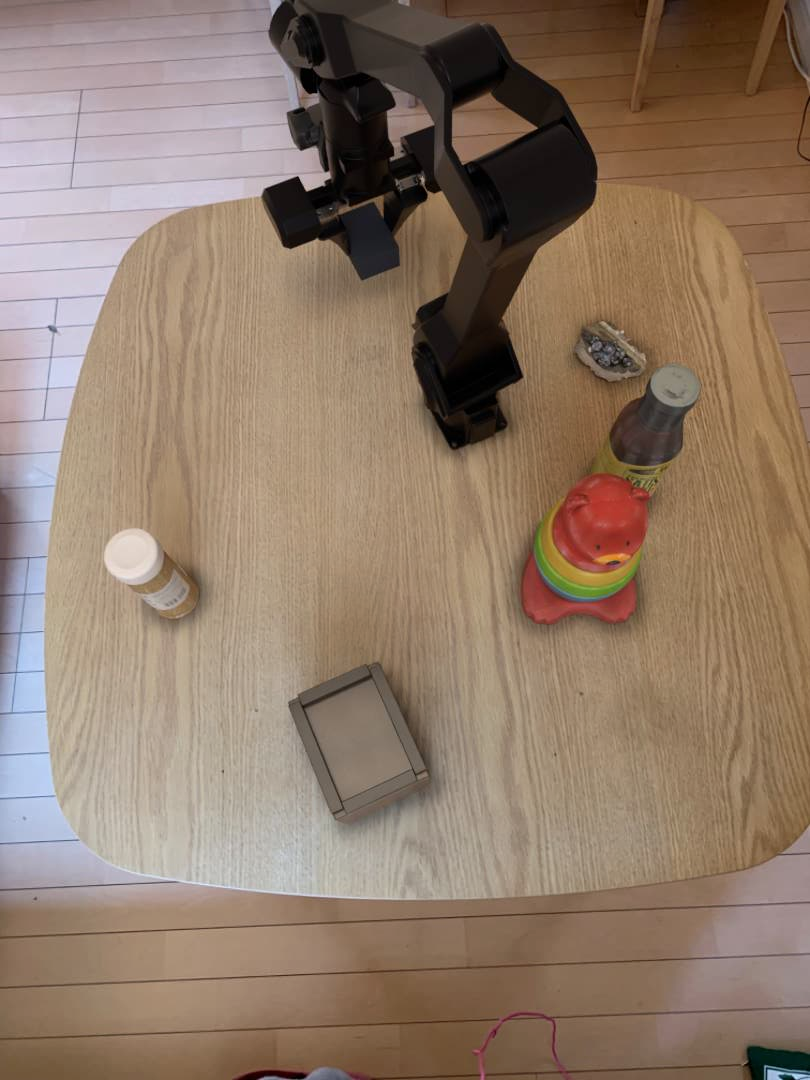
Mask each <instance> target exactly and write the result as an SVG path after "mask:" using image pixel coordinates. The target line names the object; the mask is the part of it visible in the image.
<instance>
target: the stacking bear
mask: <svg viewBox="0 0 810 1080" xmlns="http://www.w3.org/2000/svg"><path fill="white" fill-rule="evenodd" d="M589 475H590V474H589ZM589 475H587V476H585V477H584V478H581V479H580V480H578V481H577V482H576V483H575V484H574V485H573V486H572V487H571V488H570V490H569V491H568V493H567V494H566V495H565V496H564V497H562V499H560V500H558V502H556V503H555V504H554V505H553V506H552V507H551V508H549V510H548V511H547V512H546V513H545V515H544V516H543V517H542V519H541V521H540V522H539V524H538V525H537V528H536V532H535V536H534V540H533V548H532V550H531V551H530V553H529V555H528V557H527V560H526V562H525V564H524V568H523V571H522V577H521V581H520V582H521V583H520V600H521V601H520V602H521V608H522V612H523V613H524V615H525V616H527V617H529V618H530V619H531V621H532V622H533V623H535V624H537V625H538V624H544V625H546V626H547V625H553V624H556V623H558V622H559V621H560V620H562V619H564V618H566V617H569V616H571V615H577V614H579V615H589V616H592V617H595V618H596V619H598V620H601V621H602V622H604V623H608V624H609V625H611V624H612V625H613V624H616V623H621V624H622V623H625V622H627V621H628V620H629V617H631V616H632V615H633V614H635V612H636V609H637V589H636V583H635V578H634V576H635V574H636V573H637V570H638V568H639V566H640V563H641V559H642V554H643V543H644V541H645V539H646V537H647V532H648V527H649V511H648V507H647V502H649V501H650V500H651V497H650V494H649V492H648V491H647V490H646V489H644V488H640V487H635V486H634V485H633V484H632V483H631V482H629V481H628V480H626V479H624V478H622V477H620V476H617V475H614V474H609V473H598V474H593V475H590V476H589Z"/></svg>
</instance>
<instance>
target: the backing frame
mask: <svg viewBox="0 0 810 1080" xmlns="http://www.w3.org/2000/svg"><path fill="white" fill-rule="evenodd" d="M287 704H288V705H287V707H288V709H289V712H290V714H291V717H292V719H293V723H294V724H295V727H296V729H297V732H298V734H299V737H300V739H301V742H302V745H303V747H304V748H305V752H306V755H307V757H308V759H309V762H310V764H311V767H312V770H313V771H314V775H315V777H316V779H317V782H318V785H319V787H320V789H321V792H322V794H323V797H324V800H325V802H326V804H327V807H328V809H329V811H330V814H331V815H332V817H333V819H334V820H335V821H336V822H339V823H342V824H346V825H350V824H351V823H354V822H356V821H358V820H360V819H362V818H365V817H366V816H368V815H369V816H370V815H371V814H373V813H374V812H376V811H379V810H381V809H383V808H385V807H388V806H389V805H392V804H394V803H396V802H398V801H400V800H403V799H405V798H407V797H408V796H410V795H413V794H416V793H417V792H419V791H421V790H424V789H426V788H428V787H430V786H431V778H430V773H429V770H428V768H427V765H426V764H425V761H424V758H423V757H422V754H421V752H420V749H419V747H418V745H417V743H416V741H415V738H414V736H413V734H412V731H411V729H410V727H409V725H408V723H407V720H406V719H405V716H404V714H403V711H402V710H401V707H400V705H399V703H398V700H397V698H396V696H395V694H394V691H393V689H392V687H391V685H390V683H389V680H388V679H387V675H386V674H385V671H384V669H383V667H382V665H381V664H380V661H375V662H373V663H371V664H367V663H364V664H361V665H360V666H357V667H355V668H353V669H351V670H349V671H347V672H344V673H341V674H340V675H338V676H335V677H334V678H331V679H328V680H327V681H324V682H322V683H319V684H318V685H316V686H312V687H311V688H308V689H307V690H304V691H302V692H300V693H298V694H297V696H296V698H293V699H291V700H289V701H287Z"/></svg>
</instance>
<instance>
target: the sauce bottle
mask: <svg viewBox="0 0 810 1080" xmlns="http://www.w3.org/2000/svg"><path fill="white" fill-rule="evenodd" d="M701 388H702V387H701V380H700V379H699V377H698V375H697V373H695V372H694V371H693V370H692V369H691V368H689V367H687V366H686V365H681V363H666V364H663V365H660V366H659V367H658V368H655V370H654V371H653V372H652V373H651V375H650V377H649V379H648V381H647V383H646V385H645V393H644V394H643V395H642V396H641V397H636V398H634V399H632V400H630V401H629V402H628V403H627V404H625V406H624V407H623V408H622V409H621V410H620V411H619V413H618V415H617V417H616V418H615V421H614V422H613V423H612V425H611V427H610V428H609V431H608V433H607V436H606V438H605V439H604V441H603V444H602V446H601V448H600V450H599V452H598V455H597V457H596V459H595V461H594V462H593V465H592V467H591V468H590V471H589V475H588V476H590V475H593V474H598V473H609V474H614V475H617V476H620V477H622V478H624V479H626V480H628V481H629V482H631V483H632V484H633V485H634V486H635V487H640V488H644V489H646V490H647V491H648V492H649V494H650V498H651V497H652V496H653V495H654V493H655V491H656V490H657V488H658V486H659V485H660V484H661V482H662V480H663V479H664V477H665V476H666V474H667V473H668V471H669V470H670V468H671V467H672V465H674V462H675V461H676V459H677V458H678V456H679V454H680V453H681V451H682V450H683V446H684V420H685V418H686V415H687V414H688V412H690V411H691V410H692V409H693V408H694V407H695V405H696V403H697V401H698V399H699V398H700V396H701V391H702V389H701Z"/></svg>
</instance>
